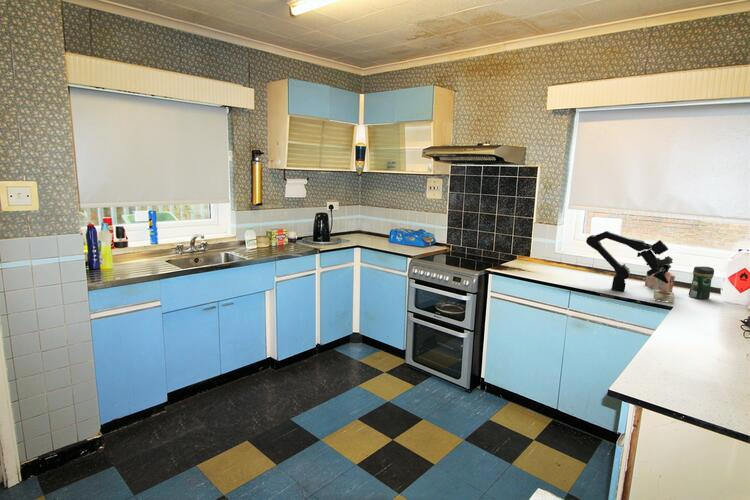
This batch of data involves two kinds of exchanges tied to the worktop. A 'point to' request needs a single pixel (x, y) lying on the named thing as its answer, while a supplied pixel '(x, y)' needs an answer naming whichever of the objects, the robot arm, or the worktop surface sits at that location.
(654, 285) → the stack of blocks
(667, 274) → the needle peg
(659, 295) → the bead block
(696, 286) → the coffee jar
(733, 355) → the worktop surface
